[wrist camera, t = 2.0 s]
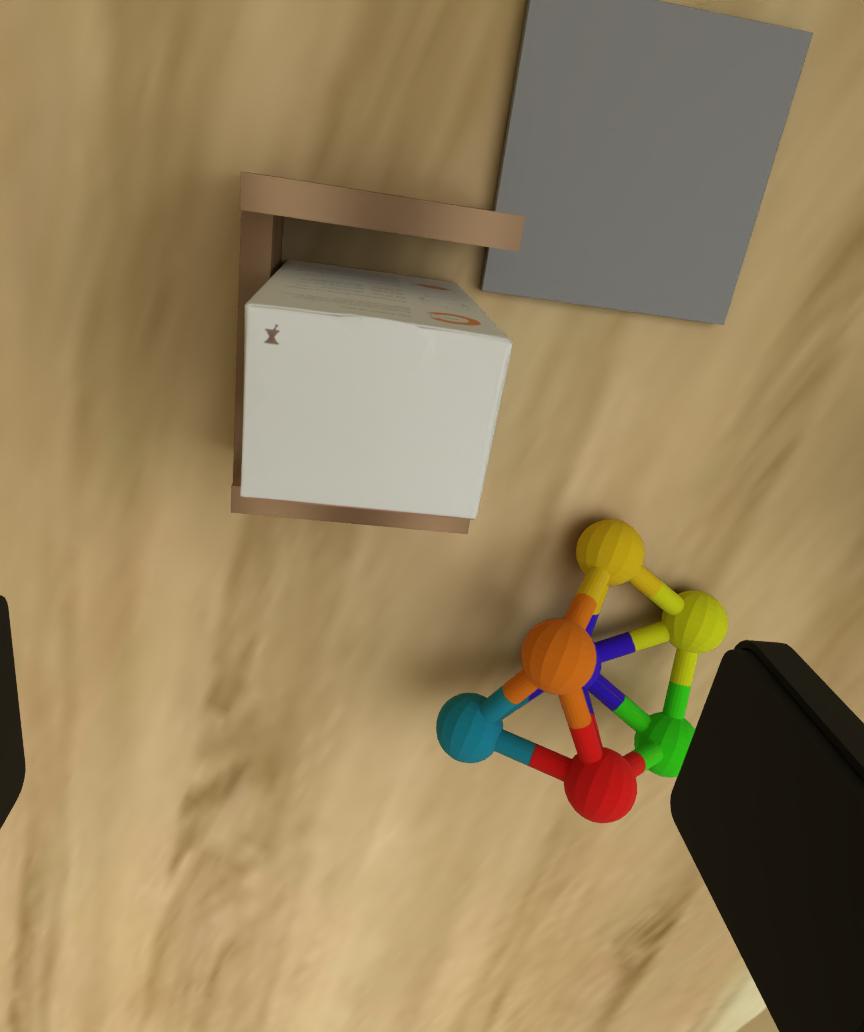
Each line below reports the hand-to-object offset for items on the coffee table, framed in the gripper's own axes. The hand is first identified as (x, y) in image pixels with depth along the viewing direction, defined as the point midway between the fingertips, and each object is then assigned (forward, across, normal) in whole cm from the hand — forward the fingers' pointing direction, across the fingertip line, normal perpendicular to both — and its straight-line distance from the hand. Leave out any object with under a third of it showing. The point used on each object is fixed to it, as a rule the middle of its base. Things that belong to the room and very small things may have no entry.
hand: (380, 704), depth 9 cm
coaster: (+27, -11, -9) cm, 30 cm away
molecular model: (+27, -15, +16) cm, 35 cm away
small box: (+27, 0, 0) cm, 27 cm away
